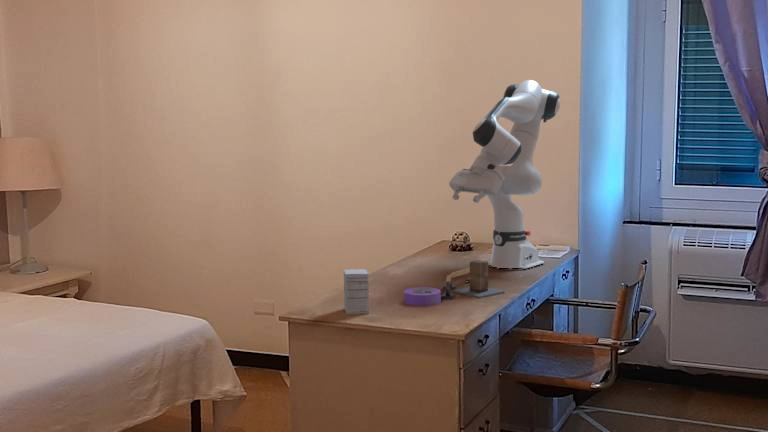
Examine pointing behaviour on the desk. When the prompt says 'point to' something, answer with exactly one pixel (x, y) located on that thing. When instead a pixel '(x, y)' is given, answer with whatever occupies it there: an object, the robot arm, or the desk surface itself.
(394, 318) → the desk surface
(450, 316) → the desk surface
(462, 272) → the hinged wooden linkage
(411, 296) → the masking tape
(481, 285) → the tan stacked post
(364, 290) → the supplement box
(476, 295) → the slate pad
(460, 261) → the desk surface
